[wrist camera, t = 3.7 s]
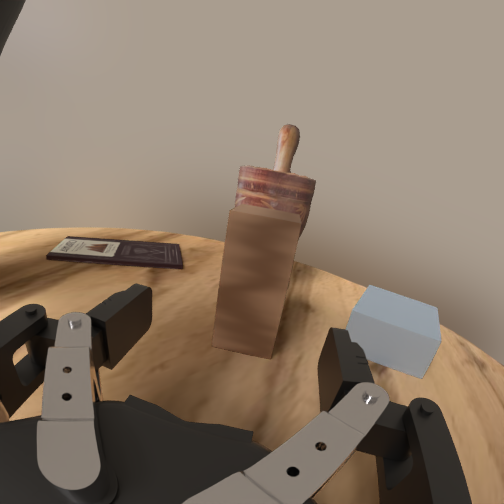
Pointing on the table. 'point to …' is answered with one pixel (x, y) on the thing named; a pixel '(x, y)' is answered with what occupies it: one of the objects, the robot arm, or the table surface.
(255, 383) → the table surface
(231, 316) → the walnut block
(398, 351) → the slate-blue block
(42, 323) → the robot arm
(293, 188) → the mortar and pestle
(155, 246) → the chocolate bar
